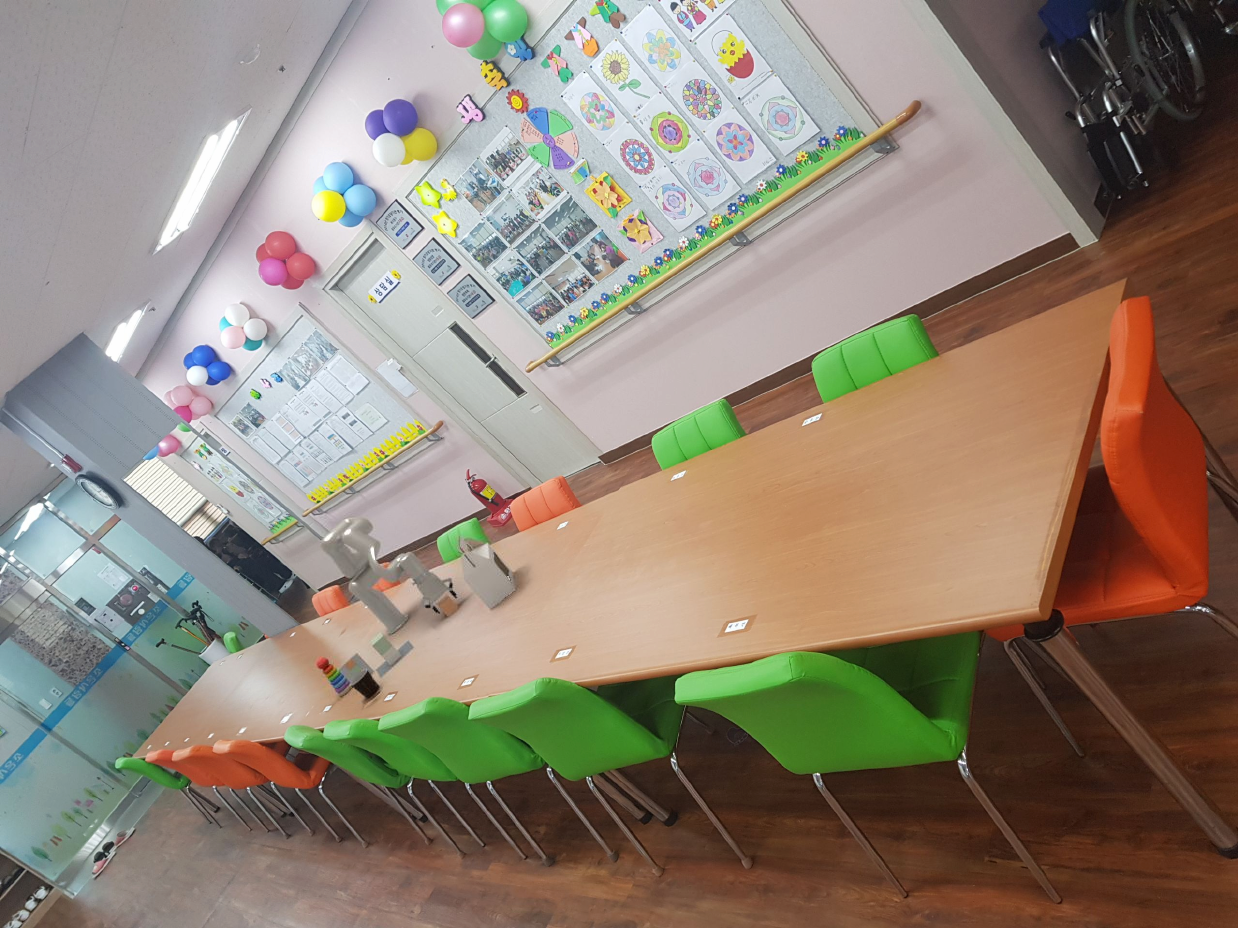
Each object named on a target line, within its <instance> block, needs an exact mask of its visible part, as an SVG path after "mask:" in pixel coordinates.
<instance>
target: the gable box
mask: <svg viewBox="0 0 1238 928" xmlns="http://www.w3.org/2000/svg"><path fill="white" fill-rule="evenodd" d="M457 553H459V554H462V555H461V557H460V558H461V566H462V567H461V568H462V575H463V576H462V579H463V581H464V582H466V584H467V585H468V586H469V587H470V588H471V590H472V591H473V592H474V594H476V595H477V596H478V599H480V600H481V601H482V603H483V604H485V606H486V607H487V609H489V610H492V609H494V608H495V607H496V606H498V605H499V604H500V603H502V600H503V599H504V598H505V597H507V596H508V595H509V594H510V593H511V592H513V591H514V590H516V591H517V588H515V587H516V582H515V577H514V578H513V576H514V572H513V571H512V570H511V568H510V567H509V566H508V565H507V564H506V562H505V561H504V560H503V559H502V558H501V557H500V556H499V554H498V553H497V552H496V551H495V550H494V548H493V547H492V546H491V545H490V544H489V542H485V541H480V540H477V539H473V538H470V537H469V538H465V539H464V538H463V536H462V535H459V537H458V539H457ZM507 576H509V578H510V580H509V579H508V577H507ZM514 582H515V583H514ZM513 593H514V592H513ZM509 596H510V595H509ZM509 596H508V597H509ZM508 597H507V598H508ZM505 599H506V598H505ZM505 599H504V600H505ZM504 600H503V601H504ZM498 603H499V604H498ZM497 604H498V605H497ZM494 606H495V607H494ZM493 607H494V608H493Z"/></svg>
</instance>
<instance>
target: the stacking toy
mask: <svg viewBox="0 0 1238 928" xmlns="http://www.w3.org/2000/svg"><path fill="white" fill-rule="evenodd" d="M316 667H317V669H319V670H322V674H324V676H325V678H326V679H327V681H328V682H329V684H330V685H331V686H332V688H333V689H334V691H335V692H336V693H337V696H339V697H342V696H345V695H346V694H347V693H349V691H351V690H352V688H353V687H352V686H351V685H350V682H349V681H348V680H347V679H346V678H345V677H344V675H343V674H342V673H341V672H340V671H339V670H338V668H337V667H336V666H334V665H333V663H330V661H329V659H328V658H327V657H320V658H319V659H317V661H316Z"/></svg>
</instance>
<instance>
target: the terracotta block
mask: <svg viewBox="0 0 1238 928" xmlns="http://www.w3.org/2000/svg"><path fill="white" fill-rule="evenodd" d="M436 605H437V606H438V608H440V609H441V610H442V612H443V613H444V614H445V615H446V616H447V617H448V618H450V616H452V615H453V614H454V613H455V612H456V611H457V610H458V609H459V605H457V604H456V602H455V601H454V600H453V599H452V598H451V597H450V596H449V595H448V594H446V595H445V596H444V597H442V599H441V598H440V600H439V601H437V603H436Z"/></svg>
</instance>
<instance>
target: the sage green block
mask: <svg viewBox="0 0 1238 928" xmlns="http://www.w3.org/2000/svg"><path fill="white" fill-rule="evenodd" d="M369 643H370V645H371V647H372V648H374V650H375V651H376V652H377V653H378V655H380V657H382V655H383V654H384V653H385V652H386V651H388V650H389V649H390V648H391V647H392V646H394V645H393V644H392V643H391V641H390V640H389V639H388V638H387V637H386V636H385V635H384V633H382V632H381V631H380V632H379V633H378V634H377V635H376V636H374V637H373V638H372V639H371V640H370V641H369Z"/></svg>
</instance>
